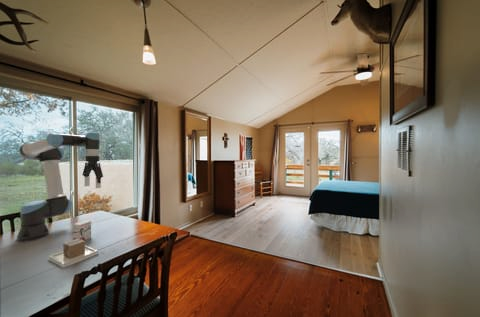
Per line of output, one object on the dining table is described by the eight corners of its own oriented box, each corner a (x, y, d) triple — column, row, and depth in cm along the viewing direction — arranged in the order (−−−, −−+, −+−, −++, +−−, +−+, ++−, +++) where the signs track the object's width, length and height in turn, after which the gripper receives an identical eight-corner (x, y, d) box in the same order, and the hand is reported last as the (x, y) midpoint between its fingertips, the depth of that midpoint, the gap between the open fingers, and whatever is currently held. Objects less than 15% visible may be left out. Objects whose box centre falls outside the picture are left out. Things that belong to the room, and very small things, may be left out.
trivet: (48, 259, 107) (48, 256, 107) (83, 247, 121) (83, 244, 121) (63, 267, 99) (63, 264, 99) (98, 253, 114) (98, 250, 114)
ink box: (78, 243, 126) (78, 224, 126) (72, 242, 127) (72, 224, 127) (91, 237, 135) (91, 220, 135) (85, 236, 136) (85, 219, 136)
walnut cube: (63, 255, 109) (63, 243, 108) (78, 250, 115) (78, 238, 115) (69, 259, 105) (69, 246, 105) (84, 253, 112) (84, 241, 112)
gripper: (76, 155, 135) (76, 186, 136) (96, 156, 124) (96, 189, 124) (88, 155, 142) (88, 184, 142) (109, 156, 131) (109, 188, 131)
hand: (92, 187), depth 133 cm, fingers open, 13 cm apart
